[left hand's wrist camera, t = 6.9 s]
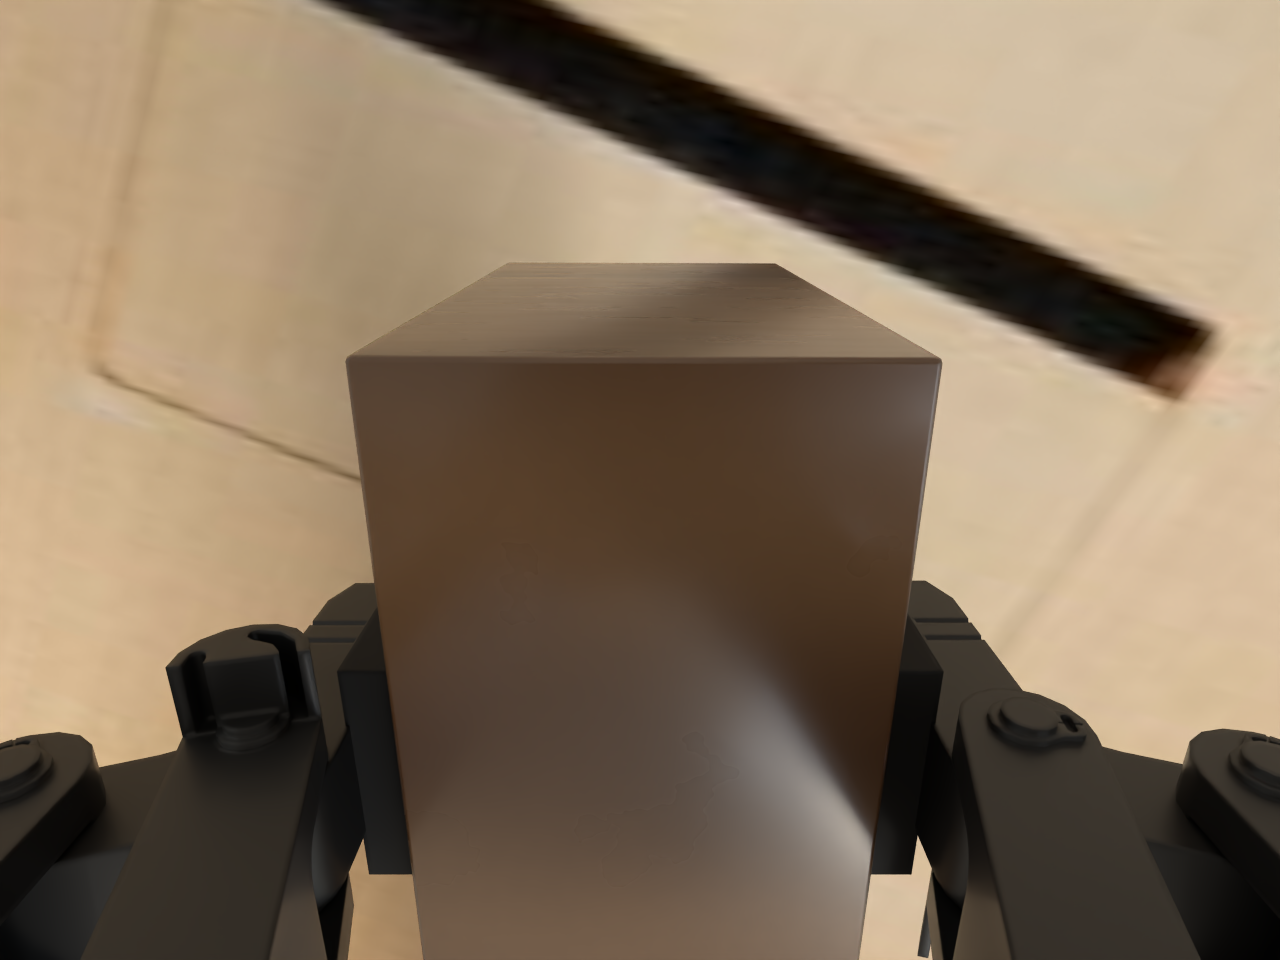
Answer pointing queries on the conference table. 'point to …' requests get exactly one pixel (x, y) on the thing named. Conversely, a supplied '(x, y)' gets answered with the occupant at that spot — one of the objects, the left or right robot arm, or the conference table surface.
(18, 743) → the left robot arm
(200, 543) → the conference table surface
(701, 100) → the conference table surface
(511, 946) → the beam
